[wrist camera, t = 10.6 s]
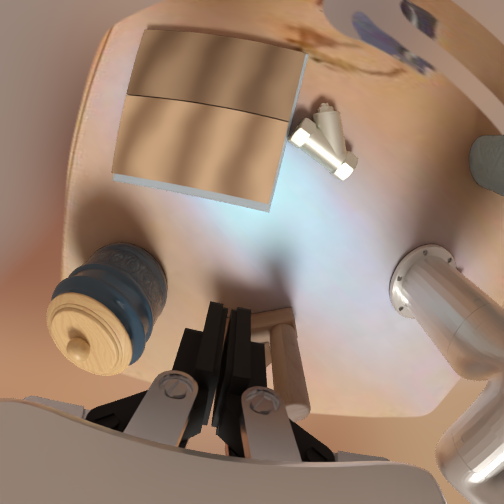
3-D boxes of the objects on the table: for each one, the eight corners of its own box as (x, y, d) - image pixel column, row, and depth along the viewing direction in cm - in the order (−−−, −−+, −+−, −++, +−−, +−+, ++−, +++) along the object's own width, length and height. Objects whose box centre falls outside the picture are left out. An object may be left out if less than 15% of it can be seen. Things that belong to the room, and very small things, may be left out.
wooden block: (219, 318, 43) (204, 413, 27) (291, 305, 43) (311, 399, 26) (225, 337, 45) (214, 432, 28) (294, 325, 44) (313, 419, 27)
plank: (287, 123, 33) (288, 122, 32) (267, 201, 37) (268, 204, 35) (130, 97, 32) (126, 95, 30) (116, 171, 35) (111, 173, 34)
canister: (90, 233, 39) (15, 288, 22) (173, 248, 40) (125, 322, 23) (93, 308, 43) (40, 379, 27) (167, 326, 44) (134, 413, 28)
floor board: (303, 56, 30) (305, 53, 29) (287, 122, 33) (289, 121, 32) (148, 33, 29) (144, 29, 27) (131, 95, 32) (126, 94, 30)
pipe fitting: (315, 100, 33) (285, 141, 35) (324, 94, 30) (291, 138, 31) (364, 139, 35) (335, 179, 36) (376, 137, 31) (346, 181, 33)
